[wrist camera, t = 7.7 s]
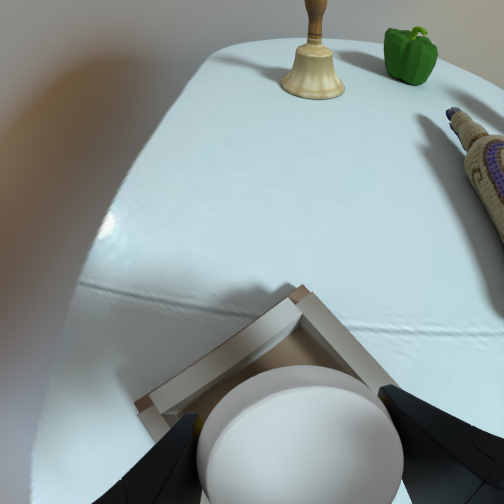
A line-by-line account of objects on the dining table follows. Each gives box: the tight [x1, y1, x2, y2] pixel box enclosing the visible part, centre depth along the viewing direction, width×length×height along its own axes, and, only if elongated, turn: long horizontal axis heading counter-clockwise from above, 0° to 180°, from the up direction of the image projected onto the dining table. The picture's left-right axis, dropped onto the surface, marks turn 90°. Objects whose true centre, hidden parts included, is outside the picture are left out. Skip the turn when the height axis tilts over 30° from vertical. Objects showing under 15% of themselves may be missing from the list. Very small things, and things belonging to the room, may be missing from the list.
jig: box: [134, 284, 401, 504], centre depth 13 cm, size 13×13×4 cm
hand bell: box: [281, 0, 345, 99], centre depth 27 cm, size 8×8×16 cm
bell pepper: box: [384, 27, 438, 85], centre depth 31 cm, size 8×8×10 cm
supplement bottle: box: [196, 365, 403, 504], centre depth 9 cm, size 6×6×10 cm
